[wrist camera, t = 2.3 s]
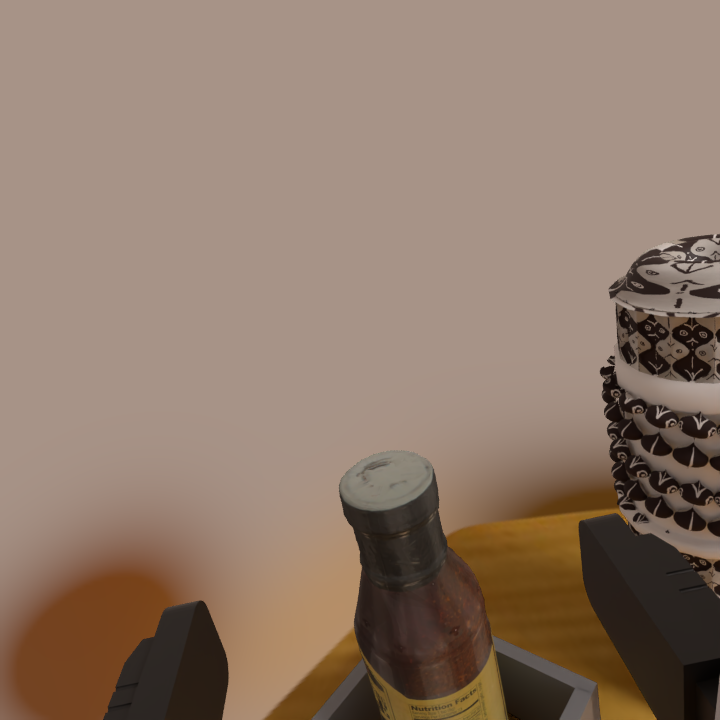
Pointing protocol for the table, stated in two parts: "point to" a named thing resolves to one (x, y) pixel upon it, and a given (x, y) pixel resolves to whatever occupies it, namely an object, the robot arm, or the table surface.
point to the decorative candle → (669, 399)
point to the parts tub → (519, 683)
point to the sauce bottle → (417, 598)
